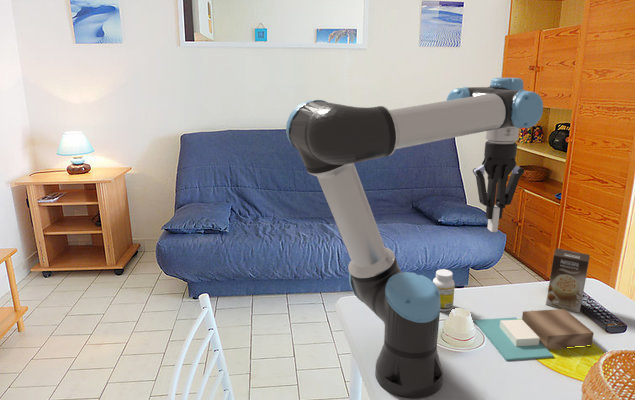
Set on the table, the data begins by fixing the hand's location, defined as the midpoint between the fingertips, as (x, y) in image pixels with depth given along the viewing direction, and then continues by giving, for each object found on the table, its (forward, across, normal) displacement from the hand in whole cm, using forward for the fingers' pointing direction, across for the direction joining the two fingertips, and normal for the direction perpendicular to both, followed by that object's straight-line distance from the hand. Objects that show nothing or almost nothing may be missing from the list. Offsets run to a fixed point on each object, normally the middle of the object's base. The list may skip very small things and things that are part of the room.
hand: (492, 230), depth 125 cm
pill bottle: (+27, -9, +8) cm, 29 cm away
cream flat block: (+26, +5, -10) cm, 28 cm away
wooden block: (+26, +15, -10) cm, 32 cm away
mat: (+26, +3, -10) cm, 28 cm away
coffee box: (+27, +27, +5) cm, 38 cm away
